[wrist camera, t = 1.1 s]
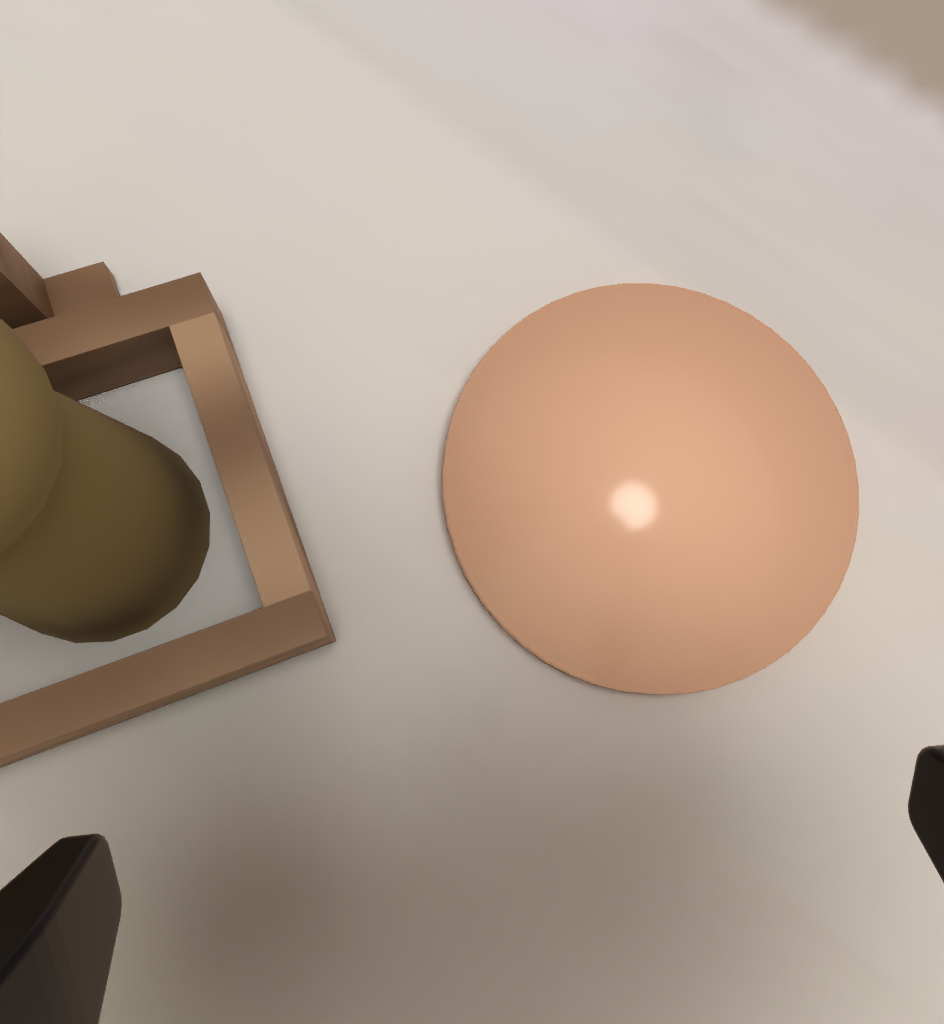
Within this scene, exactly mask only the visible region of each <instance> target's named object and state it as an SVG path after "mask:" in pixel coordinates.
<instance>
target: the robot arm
mask: <svg viewBox="0 0 944 1024" xmlns="http://www.w3.org/2000/svg"><path fill="white" fill-rule="evenodd" d="M908 812H909V817H910V820H911V823H912V826H913V828H914V830H915V832H916V834H917V835H918V837H919V839H920V841H921V843H922V844H923V846H924V848H925V850H926V852H927V853H928V855H929V857H930V859H931V861H932V862H933V864H934V866H935V868H936V870H937V871H938V873H939V875H940V877H941V879H942V880H943V882H944V745H936V746H928V747H925V748H923V749H922V750H921V751H920V753H919V754H918V757H917V760H916V765H915V771H914V776H913V781H912V786H911V791H910V796H909V802H908ZM121 906H122V900H121V892H120V887H119V883H118V880H117V876H116V872H115V868H114V864H113V860H112V856H111V852H110V848H109V845H108V842H107V840H106V839H105V837H104V836H102V835H100V834H89V835H80V836H70V837H65V838H62V839H60V840H59V841H57V842H56V843H54V844H53V845H52V846H51V847H50V848H49V849H47V850H46V851H45V852H44V853H43V854H42V855H40V856H39V857H38V858H37V859H36V860H35V861H34V862H32V863H31V864H30V865H29V866H28V867H27V868H25V869H24V870H23V871H22V872H21V873H20V874H18V875H17V876H16V877H15V878H14V879H13V880H11V881H10V882H9V883H8V884H7V885H6V886H5V887H3V888H2V889H1V890H0V1024H98V1022H99V1018H100V1013H101V1008H102V1003H103V998H104V994H105V989H106V984H107V979H108V975H109V970H110V965H111V960H112V955H113V951H114V946H115V941H116V936H117V931H118V927H119V922H120V916H121Z"/></svg>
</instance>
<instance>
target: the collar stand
mask: <svg viewBox="0 0 944 1024" xmlns="http://www.w3.org/2000/svg"><path fill="white" fill-rule="evenodd" d="M0 319H2V320H3V321H4V322H5V323H6V324H7V325H8V326H10V327H11V328H12V329H13V330H14V331H15V332H16V333H17V334H18V335H19V336H20V337H21V339H22V340H23V341H24V343H25V344H26V345H27V347H28V348H29V349H30V351H31V352H32V353H33V355H34V356H35V357H36V359H37V360H38V361H39V363H40V364H41V365H42V367H43V368H44V369H45V371H46V374H47V376H48V378H49V381H50V383H51V386H52V389H53V390H54V391H56V392H58V393H60V394H63V395H65V396H67V397H69V398H71V399H73V400H75V401H76V400H80V399H83V398H86V397H89V396H92V395H95V394H98V393H102V392H105V391H108V390H111V389H114V388H117V387H120V386H123V385H127V384H130V383H133V382H136V381H139V380H142V379H145V378H149V377H152V376H155V375H158V374H161V373H164V372H167V371H171V370H174V369H177V368H180V367H183V369H184V372H185V375H186V378H187V381H188V384H189V387H190V390H191V393H192V396H193V399H194V402H195V405H196V408H197V411H198V414H199V416H200V419H201V422H202V425H203V428H204V431H205V434H206V437H207V440H208V443H209V446H210V449H211V452H212V455H213V458H214V461H215V464H216V467H217V470H218V473H219V476H220V479H221V482H222V485H223V488H224V491H225V494H226V497H227V500H228V503H229V506H230V509H231V512H232V515H233V518H234V521H235V524H236V527H237V529H238V532H239V535H240V538H241V541H242V544H243V547H244V550H245V553H246V556H247V559H248V562H249V565H250V568H251V571H252V574H253V577H254V580H255V583H256V586H257V589H258V592H259V595H260V598H261V601H262V604H263V608H260V609H257V610H255V611H252V612H249V613H247V614H244V615H241V616H238V617H236V618H233V619H230V620H227V621H225V622H222V623H219V624H217V625H214V626H211V627H208V628H206V629H203V630H200V631H197V632H195V633H192V634H189V635H186V636H184V637H181V638H178V639H176V640H173V641H170V642H167V643H165V644H162V645H159V646H156V647H154V648H151V649H148V650H146V651H143V652H140V653H137V654H135V655H132V656H129V657H126V658H124V659H121V660H118V661H115V662H113V663H110V664H107V665H105V666H102V667H99V668H96V669H94V670H91V671H88V672H85V673H83V674H80V675H77V676H75V677H72V678H69V679H66V680H64V681H61V682H58V683H55V684H53V685H50V686H47V687H45V688H42V689H39V690H36V691H34V692H31V693H28V694H25V695H23V696H20V697H17V698H14V699H12V700H9V701H6V702H4V703H1V704H0V767H3V766H6V765H8V764H11V763H14V762H16V761H19V760H22V759H24V758H27V757H29V756H32V755H35V754H37V753H40V752H43V751H45V750H48V749H51V748H53V747H56V746H59V745H61V744H64V743H67V742H69V741H72V740H75V739H77V738H80V737H83V736H85V735H88V734H90V733H93V732H96V731H98V730H101V729H104V728H106V727H109V726H112V725H114V724H117V723H120V722H122V721H125V720H128V719H130V718H133V717H136V716H138V715H141V714H143V713H146V712H149V711H151V710H154V709H157V708H159V707H162V706H165V705H167V704H170V703H173V702H175V701H178V700H181V699H183V698H186V697H189V696H191V695H194V694H197V693H199V692H202V691H204V690H207V689H210V688H212V687H215V686H218V685H220V684H223V683H226V682H228V681H231V680H234V679H236V678H239V677H242V676H244V675H247V674H250V673H252V672H255V671H258V670H260V669H263V668H265V667H268V666H271V665H273V664H276V663H279V662H281V661H284V660H287V659H289V658H292V657H295V656H297V655H300V654H303V653H305V652H308V651H311V650H313V649H316V648H318V647H321V646H324V645H326V644H329V643H332V642H334V641H336V639H335V636H334V633H333V631H332V628H331V625H330V622H329V619H328V616H327V613H326V611H325V608H324V605H323V602H322V599H321V596H320V593H319V591H318V588H317V585H316V582H315V579H314V576H313V573H312V570H311V568H310V565H309V562H308V559H307V556H306V553H305V550H304V548H303V545H302V542H301V539H300V536H299V533H298V530H297V528H296V525H295V522H294V519H293V516H292V513H291V510H290V508H289V505H288V502H287V499H286V496H285V493H284V490H283V487H282V485H281V482H280V479H279V476H278V473H277V470H276V467H275V465H274V462H273V459H272V456H271V453H270V450H269V447H268V445H267V442H266V439H265V436H264V433H263V430H262V427H261V425H260V422H259V419H258V416H257V413H256V410H255V407H254V404H253V402H252V399H251V396H250V393H249V390H248V387H247V384H246V382H245V379H244V376H243V373H242V370H241V367H240V364H239V362H238V359H237V356H236V353H235V350H234V347H233V344H232V342H231V339H230V336H229V333H228V330H227V327H226V324H225V321H224V319H223V316H222V313H221V311H220V309H219V308H218V306H217V304H216V302H215V300H214V298H213V296H212V294H211V292H210V290H209V288H208V286H207V284H206V282H205V281H204V279H203V277H202V275H201V273H196V274H193V275H190V276H186V277H183V278H180V279H176V280H173V281H170V282H167V283H163V284H160V285H157V286H153V287H150V288H147V289H143V290H140V291H137V292H134V293H130V294H127V295H124V296H120V295H119V292H118V288H117V285H116V282H115V279H114V276H113V274H112V273H111V272H110V270H109V269H108V268H107V266H106V265H105V264H104V262H100V263H97V264H93V265H90V266H87V267H83V268H80V269H76V270H73V271H70V272H66V273H63V274H60V275H56V276H53V277H49V278H46V279H42V277H41V276H40V275H39V274H38V273H37V272H36V271H35V270H34V269H33V268H32V267H31V265H30V264H29V263H28V262H27V261H26V260H25V259H24V258H23V257H22V256H21V255H20V254H19V252H18V251H17V250H16V249H15V248H14V247H13V246H12V245H11V244H10V243H9V242H8V240H7V239H6V238H5V237H4V236H3V235H2V234H1V233H0Z"/></svg>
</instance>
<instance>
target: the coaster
mask: <svg viewBox="0 0 944 1024" xmlns="http://www.w3.org/2000/svg"><path fill="white" fill-rule="evenodd" d="M442 478H443V504H444V509H445V515H446V521H447V527H448V531H449V535H450V538H451V541H452V544H453V547H454V551H455V554H456V557H457V559H458V561H459V563H460V565H461V567H462V570H463V572H464V574H465V576H466V578H467V580H468V582H469V584H470V585H471V587H472V588H473V590H474V592H475V593H476V595H477V596H478V598H479V600H480V601H481V603H482V604H483V605H484V607H485V608H486V609H487V610H488V611H489V613H490V614H491V615H492V616H493V618H494V619H495V620H496V621H497V622H498V624H499V625H500V626H501V627H502V628H503V629H504V630H505V631H506V632H508V633H509V634H510V635H511V636H512V637H513V638H514V639H515V640H516V641H517V642H518V643H519V644H520V645H522V646H523V647H524V648H526V649H527V650H529V651H530V652H531V653H533V654H534V655H536V656H537V657H538V658H540V659H541V660H543V661H544V662H546V663H548V664H549V665H551V666H553V667H555V668H557V669H559V670H561V671H563V672H564V673H566V674H568V675H570V676H573V677H576V678H578V679H581V680H584V681H586V682H589V683H592V684H594V685H598V686H602V687H606V688H611V689H615V690H619V691H624V692H635V693H646V694H682V693H692V692H697V691H703V690H708V689H714V688H718V687H721V686H724V685H727V684H730V683H733V682H736V681H739V680H742V679H744V678H746V677H748V676H750V675H752V674H754V673H756V672H758V671H760V670H762V669H764V668H766V667H767V666H769V665H770V664H772V663H773V662H775V661H776V660H777V659H779V658H780V657H782V656H783V655H785V654H786V653H787V652H789V651H790V650H791V649H792V648H793V647H794V646H795V645H796V644H797V643H799V642H800V641H801V640H802V639H803V638H804V637H805V636H806V635H807V634H808V633H809V632H810V631H811V630H812V628H813V627H814V626H815V625H816V623H817V622H818V621H819V620H820V618H821V617H822V616H823V615H824V613H825V612H826V610H827V609H828V607H829V605H830V604H831V602H832V600H833V598H834V597H835V595H836V593H837V592H838V590H839V588H840V585H841V583H842V581H843V578H844V576H845V573H846V571H847V569H848V566H849V563H850V559H851V556H852V552H853V548H854V544H855V540H856V533H857V525H858V517H859V486H858V478H857V471H856V464H855V459H854V455H853V451H852V448H851V444H850V440H849V437H848V434H847V431H846V429H845V426H844V424H843V421H842V419H841V416H840V414H839V412H838V409H837V408H836V406H835V404H834V402H833V401H832V399H831V397H830V395H829V393H828V392H827V390H826V388H825V386H824V385H823V384H822V382H821V381H820V380H819V378H818V377H817V375H816V374H815V373H814V371H813V370H812V368H811V367H810V366H809V365H808V364H807V362H806V361H805V360H804V359H803V358H802V357H801V356H800V355H799V354H798V353H797V352H796V351H795V349H794V348H793V347H792V346H791V345H790V344H788V343H787V342H786V341H785V340H784V339H783V338H781V337H780V336H779V335H778V334H777V333H776V332H774V331H773V330H772V329H771V328H769V327H768V326H766V325H765V324H763V323H762V322H760V321H759V320H757V319H756V318H754V317H753V316H751V315H750V314H748V313H746V312H744V311H742V310H740V309H739V308H737V307H735V306H733V305H731V304H729V303H727V302H725V301H722V300H719V299H717V298H714V297H711V296H709V295H706V294H703V293H700V292H696V291H692V290H688V289H684V288H680V287H675V286H667V285H658V284H617V285H610V286H602V287H597V288H593V289H589V290H585V291H581V292H577V293H574V294H571V295H569V296H566V297H564V298H561V299H559V300H556V301H554V302H551V303H550V304H548V305H546V306H544V307H542V308H541V309H539V310H537V311H535V312H534V313H532V314H530V315H528V316H527V317H526V318H524V319H523V320H522V321H520V322H519V323H518V324H516V325H515V326H514V327H513V328H511V329H510V330H509V331H508V332H507V333H506V334H505V335H504V336H503V337H502V338H501V339H500V340H499V341H498V342H497V343H496V344H495V345H493V346H492V347H491V348H490V350H489V351H488V352H487V354H486V355H485V356H484V358H483V359H482V360H481V362H480V363H479V364H478V366H477V367H476V368H475V370H474V371H473V373H472V375H471V377H470V379H469V380H468V382H467V384H466V386H465V387H464V389H463V391H462V393H461V396H460V398H459V401H458V403H457V406H456V408H455V411H454V413H453V416H452V420H451V424H450V428H449V432H448V437H447V441H446V447H445V455H444V465H443V475H442Z"/></svg>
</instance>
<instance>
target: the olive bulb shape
mask: <svg viewBox="0 0 944 1024" xmlns="http://www.w3.org/2000/svg"><path fill="white" fill-rule="evenodd" d="M209 526H210V512H209V509H208V506H207V503H206V500H205V496H204V493H203V490H202V487H201V484H200V481H199V480H198V479H197V478H196V476H195V475H194V474H193V472H192V471H191V470H190V468H189V467H188V466H187V464H186V463H185V462H184V460H183V459H182V458H181V456H179V455H178V454H176V453H175V452H173V451H172V450H170V449H169V448H167V447H166V446H164V445H163V444H161V443H160V442H158V441H157V440H155V439H154V438H152V437H150V436H148V435H146V434H144V433H142V432H140V431H138V430H135V429H133V428H131V427H129V426H127V425H125V424H123V423H121V422H119V421H117V420H115V419H113V418H110V417H108V416H106V415H104V414H102V413H100V412H98V411H96V410H94V409H92V408H90V407H88V406H85V405H83V404H81V403H79V402H77V401H75V400H73V399H71V398H69V397H67V396H65V395H63V394H60V393H58V392H56V391H54V390H53V389H52V386H51V383H50V381H49V378H48V376H47V374H46V371H45V369H44V368H43V367H42V365H41V364H40V363H39V361H38V360H37V359H36V357H35V356H34V355H33V353H32V352H31V351H30V349H29V348H28V347H27V345H26V344H25V343H24V341H23V340H22V339H21V337H20V336H19V335H18V334H17V333H16V332H15V331H14V330H13V329H12V328H11V327H10V326H8V325H7V324H6V323H5V322H4V321H3V320H2V319H0V614H1V615H3V616H5V617H7V618H9V619H11V620H14V621H16V622H18V623H20V624H22V625H24V626H27V627H29V628H31V629H33V630H35V631H38V632H40V633H42V634H46V635H49V636H53V637H56V638H60V639H64V640H67V641H71V642H74V643H84V642H107V641H114V640H117V639H120V638H123V637H125V636H128V635H131V634H134V633H137V632H139V631H142V630H145V629H147V628H149V627H150V626H151V625H153V624H154V623H155V622H157V621H158V620H160V619H161V618H162V617H164V616H165V615H166V614H168V613H169V612H170V611H172V610H173V609H174V608H176V607H177V606H178V604H179V603H180V602H181V600H182V599H183V598H184V596H185V595H186V594H187V592H188V591H189V589H190V588H191V587H192V585H193V584H194V583H195V581H196V580H197V579H198V576H199V573H200V571H201V568H202V565H203V562H204V559H205V556H206V553H207V551H208V548H209Z"/></svg>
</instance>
